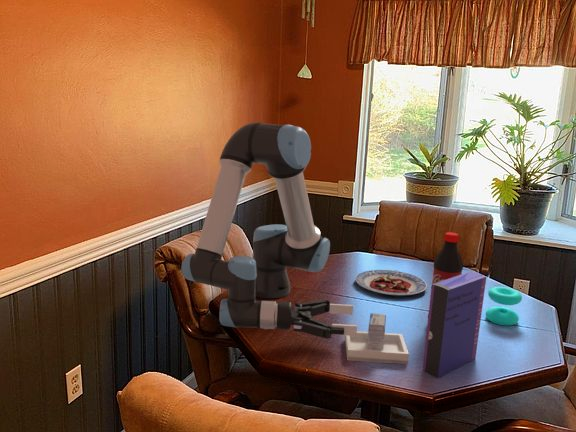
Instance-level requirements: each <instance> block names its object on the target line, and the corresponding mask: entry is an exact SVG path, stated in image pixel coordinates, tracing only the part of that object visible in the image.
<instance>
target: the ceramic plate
mask: <svg viewBox="0 0 576 432" xmlns="http://www.w3.org/2000/svg"><path fill="white" fill-rule="evenodd" d="M355 282H356V283H357V284H358V285H359V286H360V287H362V288H363V289H366V290H368V291H371V292H375V293H377V294H378V293H379V294H381V295H382V294H383V295H389V296H391V295H392V296H411V295H417V294H421V293H422V292H424V291H426V289H427V288H428V284H427V282H426V281H425V280H424V279H423V278H421V277H419V276H417V275H415V274H412V273H408V272H405V271H398V270H391V269H390V270H389V269H371V270H366V271H362V272H360V273H357V275H355Z"/></svg>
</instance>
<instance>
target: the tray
mask: <svg viewBox="0 0 576 432" xmlns="http://www.w3.org/2000/svg"><path fill="white" fill-rule="evenodd" d="M344 339H345V340H344V344H345V353H346V360H347V361H350V362H351V361H353V362H366V363H367V362H368V363H385V364H395V365H396V364H397V365H398V364H399V365H408V364H409V357H410V356H409V355H410V353H409V351H408V347H407V344H406V342H405V339H404V336H403V333H391V332H389V333H388V332H385V336H384V349H383V350H367V341H368V331H359V330H357V335H356V336H348V335H344Z"/></svg>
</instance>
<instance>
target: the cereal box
mask: <svg viewBox="0 0 576 432" xmlns="http://www.w3.org/2000/svg"><path fill="white" fill-rule="evenodd" d="M486 282H487V276H485V275H484V274H482V273H479V272H474V271H468V272H465V273H462V274H461V275H458V276H455V277H452V278H449V279H446V280H443V281H440V282H437V283H434V284H432V283H431V286H432V287H430V290H431V291H430V296H429V297H430V298H429V308H428V313H429V314H428V313H427V314H428V315H427V325H426V334H425V342H424V344H425V345H424V352H423V361H422V370H421V371H422V372H424V373H426V374H428V375H430V376H432V377H434V378H436V379H439V378H442V377H444V376H445V375H447V374H449V373H451V372H453V371H455V370H458V369H459V368H461V367H463V366H465V365H466V364H469V363H471V362H473V361H474V360H476V356H477V349H478V342H479V336H480V327H481V319H482V313H483V306H484V305H483V304H484V297H485V290H486V284H487V283H486Z"/></svg>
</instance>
